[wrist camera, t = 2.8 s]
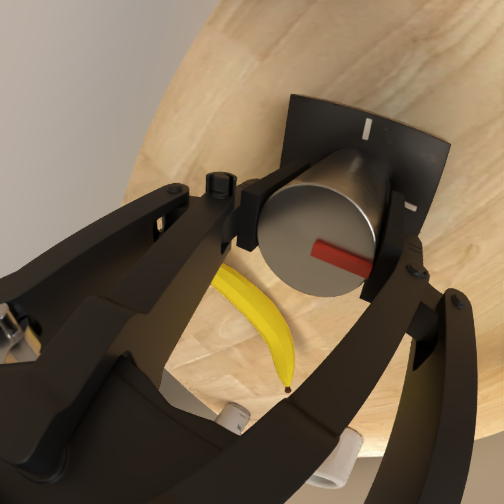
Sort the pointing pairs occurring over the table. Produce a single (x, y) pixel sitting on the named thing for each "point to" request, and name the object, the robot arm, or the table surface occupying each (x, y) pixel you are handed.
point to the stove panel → (369, 148)
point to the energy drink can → (233, 418)
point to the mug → (338, 462)
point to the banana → (260, 318)
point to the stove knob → (326, 224)
